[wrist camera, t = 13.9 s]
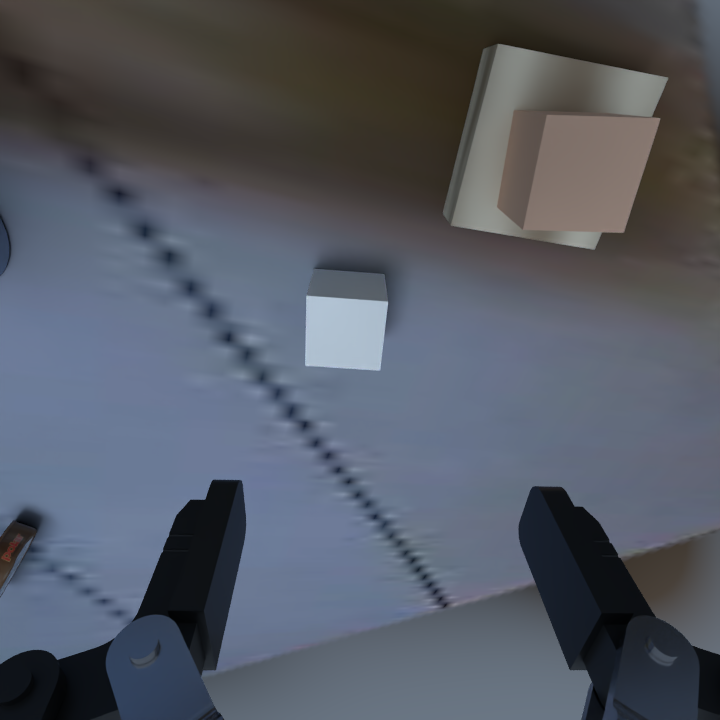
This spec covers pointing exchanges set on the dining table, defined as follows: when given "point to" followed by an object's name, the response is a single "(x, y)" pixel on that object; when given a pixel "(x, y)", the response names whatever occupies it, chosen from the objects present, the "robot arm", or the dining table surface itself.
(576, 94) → the gray block
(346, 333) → the offwhite cube
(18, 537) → the tin
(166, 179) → the dining table surface
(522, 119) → the terracotta cube
